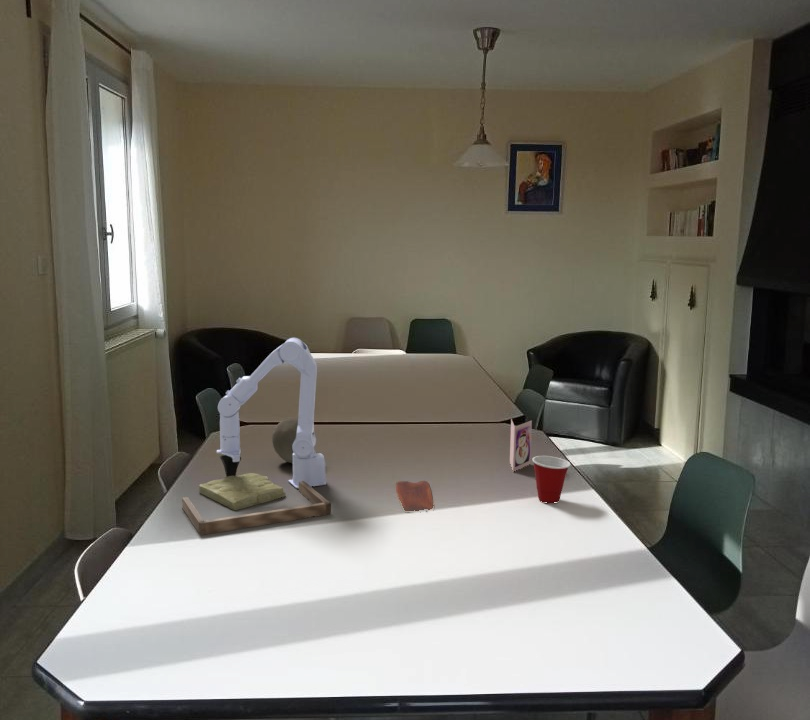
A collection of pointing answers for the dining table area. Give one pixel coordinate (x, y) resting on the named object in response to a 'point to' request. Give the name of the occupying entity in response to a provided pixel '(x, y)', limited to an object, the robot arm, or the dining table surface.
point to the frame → (259, 514)
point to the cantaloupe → (285, 438)
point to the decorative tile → (242, 490)
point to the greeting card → (520, 445)
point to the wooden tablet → (414, 495)
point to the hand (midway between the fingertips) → (231, 479)
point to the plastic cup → (550, 477)
